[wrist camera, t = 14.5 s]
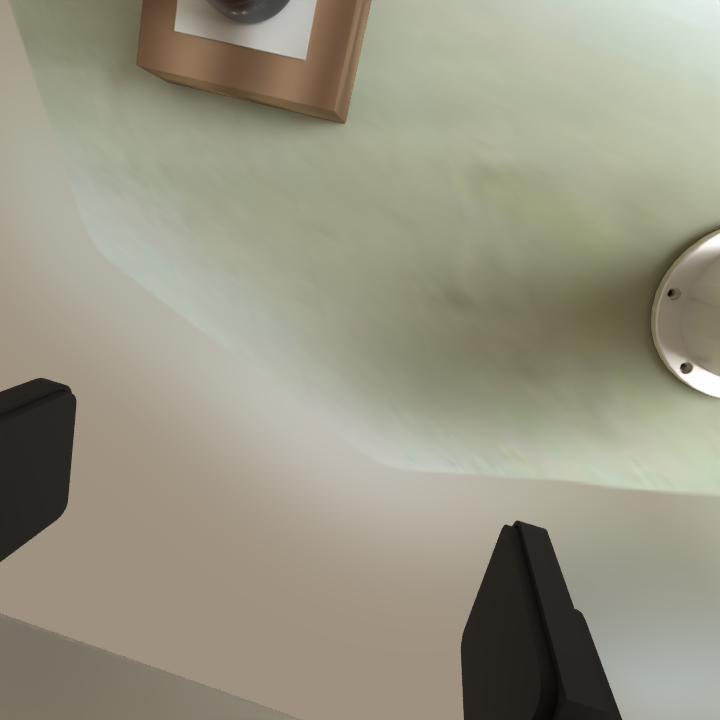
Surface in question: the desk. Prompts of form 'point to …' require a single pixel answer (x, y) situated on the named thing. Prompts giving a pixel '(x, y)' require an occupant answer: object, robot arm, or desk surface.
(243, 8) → the supplement bottle
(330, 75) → the brown picture frame
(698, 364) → the robot arm
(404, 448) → the desk surface
